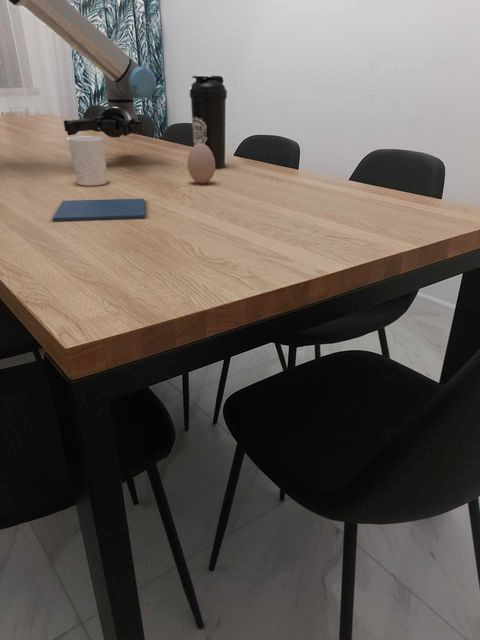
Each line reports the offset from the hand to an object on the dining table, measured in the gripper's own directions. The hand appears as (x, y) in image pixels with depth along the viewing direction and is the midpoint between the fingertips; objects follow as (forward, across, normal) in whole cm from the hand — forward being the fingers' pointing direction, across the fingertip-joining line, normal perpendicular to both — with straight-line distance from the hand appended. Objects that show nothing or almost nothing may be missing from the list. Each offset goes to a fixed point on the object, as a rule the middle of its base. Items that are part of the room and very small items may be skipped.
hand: (96, 129), depth 123 cm
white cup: (+10, 0, -11) cm, 15 cm away
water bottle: (-17, -27, -11) cm, 34 cm away
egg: (+8, -26, -11) cm, 29 cm away
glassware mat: (+37, -9, -11) cm, 39 cm away
